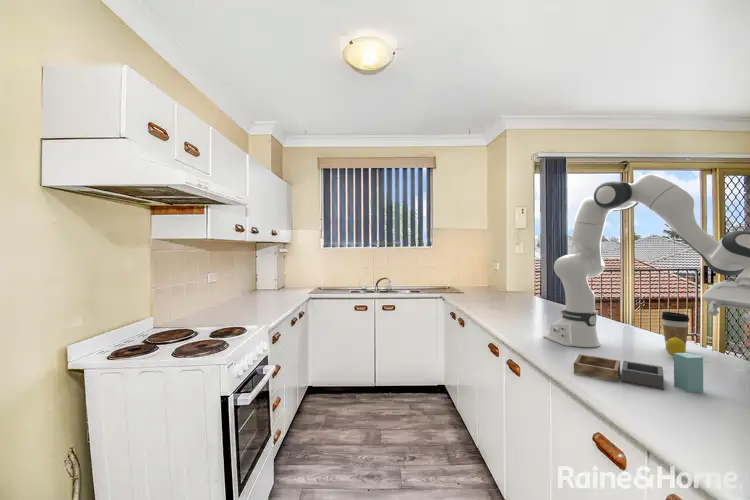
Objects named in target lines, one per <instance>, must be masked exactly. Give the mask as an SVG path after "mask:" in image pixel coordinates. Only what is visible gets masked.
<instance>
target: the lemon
mask: <svg viewBox="0 0 750 500" xmlns="http://www.w3.org/2000/svg"><path fill="white" fill-rule="evenodd" d="M686 347H687V346H686ZM686 347H685V344H684V342H683V341H682V340H680V339H679V338H677V337H674V338H670V339H669V340H668V341H667V343H666V345H665V350H666V352H667V353H668V354H669V355H670V356H672V357H673V358H674V353H686V350H687V348H686Z"/></svg>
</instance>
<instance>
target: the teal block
mask: <svg viewBox="0 0 750 500" xmlns="http://www.w3.org/2000/svg"><path fill="white" fill-rule="evenodd" d="M673 386H674V387H675V388H677V389H679V390H682V391H684V392H686V393H690V394H691V393H704V357H702V356H699V355H696V354H693V353H689V352H685V353H674V357H673Z"/></svg>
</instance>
